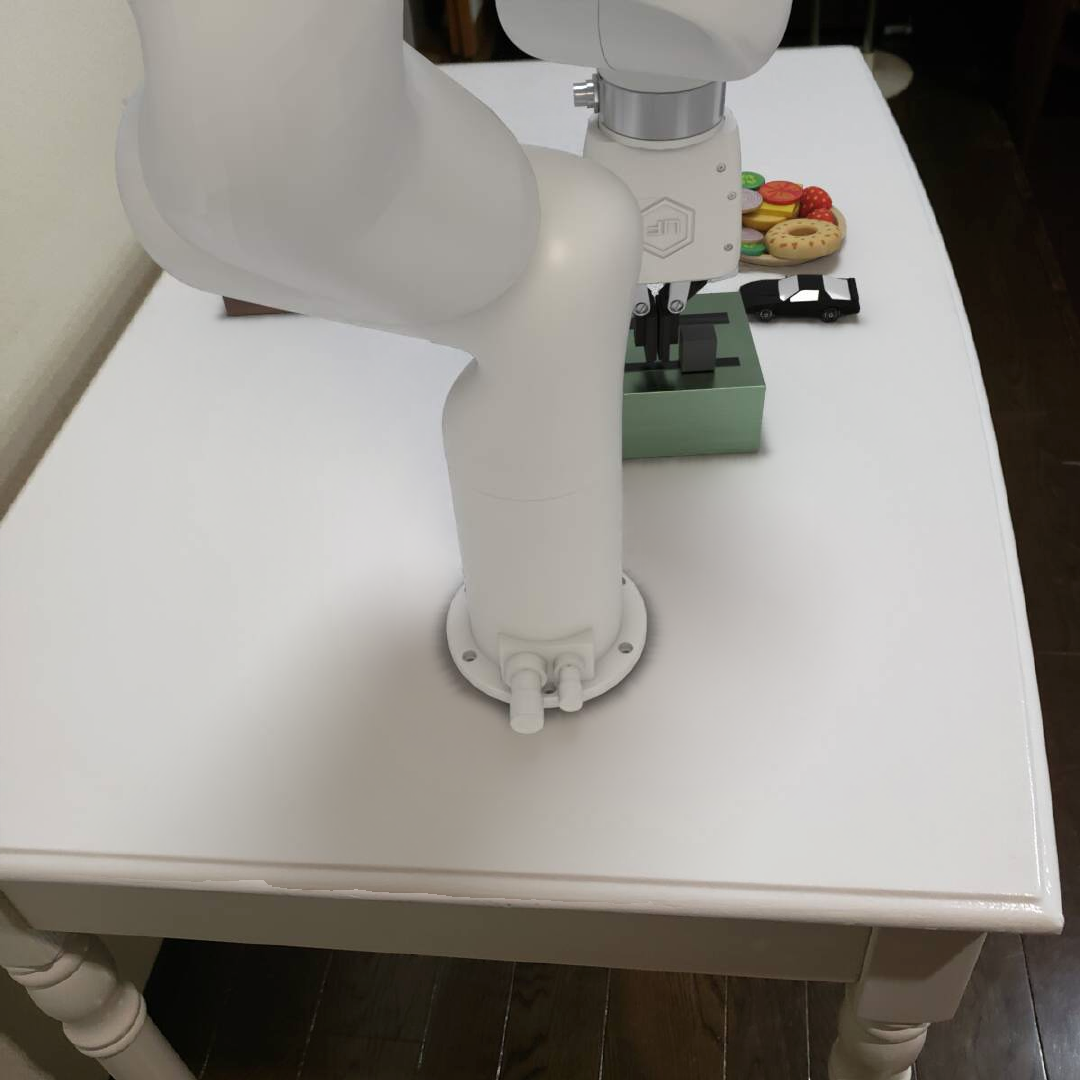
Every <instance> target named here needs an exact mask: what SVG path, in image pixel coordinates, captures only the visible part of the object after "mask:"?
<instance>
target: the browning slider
mask: <svg viewBox="0 0 1080 1080" xmlns="http://www.w3.org/2000/svg"><path fill="white" fill-rule="evenodd" d="M716 352H717V336H716V332H715V328H714V324H696V325H680V328H679V351H678V356H679V362H680V367H681V371H682V372H687V371H705V370H715V366H716Z"/></svg>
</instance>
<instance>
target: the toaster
mask: <svg viewBox="0 0 1080 1080" xmlns="http://www.w3.org/2000/svg"><path fill="white" fill-rule="evenodd" d="M654 300H655V295H654ZM696 324H714V328H715V332H716V336H717V352H716V366H715V370H705V371H687V372H682V371H681V367H680V362H679V356H678V351H679V340H678V344H671V345H670V356H669V362H661V361H659V359H658V354H657V361H654V363H646V358H645V352H644V346H641V347H635V342H634V312H633V311H632V316H631V322H630V327H629V333H628V340H627V347H626V355H625V365H624V378H623V401H622V460H627V459H628V460H629V459H630V460H631V459H647V458H666V457H684V456H701V455H721V454H735V453H736V454H737V453H753V452H759V451H760V444H761V434H762V425H763V417H764V416H763V415H764V407H765V399H766V391H767V390H766V389H767V385H766V381H765V378H764V373H763V370H762V367H761V363H760V359H759V356H758V352H757V349H756V348H757V347H756V345H755V341H754V338H753V334H752V330H751V327H750V323H749V319H748V314H746V312H745V308H744V304H743V301H742V297H741V294H740V291H739V290H738V291H725V292H724V291H723V292H722V291H721V292H707V293H696V294H695V295H694V296H693V297H692V298H691V299H689V300H688V301H687V302H686V306H685V309H684V310H683V311H682V312H680V315H679V328H680V325H696Z"/></svg>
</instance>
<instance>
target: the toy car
mask: <svg viewBox="0 0 1080 1080" xmlns="http://www.w3.org/2000/svg"><path fill="white" fill-rule="evenodd" d="M738 291H740V294H741V297H742V301H743V304H744V308H745V312H746V315H757V318H758V320H759V321H761V322H762V323H763V322H764V323H768V322H770V321H772V320H773V319H774V318H821V317H822V320H823V321H824V322H826V323H834V322H836V321H837V320H838V319H839V318H840V316H841V317H843V316H851V315H857V314H859V313H860V312H861V305H860V304H861V303H860V296H859V291H858V286H857V281H856V278H855V277H847V278H846V277H844V278H843V277H832V276H829V275H825V274H819V273H818V274H816V273H815V274H814V273H811V274H810V273H801V274H795V275H791V276H788V275H785V277H783V278H766V279H758V280H757V279H756V280H752V281H749V282H747V283H744V284H742V285H740V286H739V290H738Z"/></svg>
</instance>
